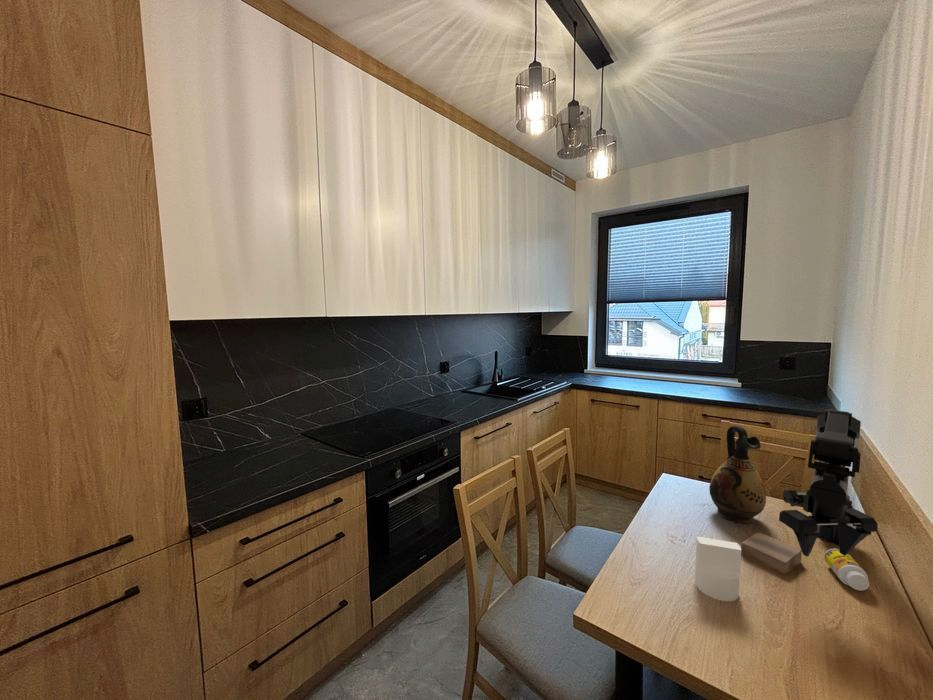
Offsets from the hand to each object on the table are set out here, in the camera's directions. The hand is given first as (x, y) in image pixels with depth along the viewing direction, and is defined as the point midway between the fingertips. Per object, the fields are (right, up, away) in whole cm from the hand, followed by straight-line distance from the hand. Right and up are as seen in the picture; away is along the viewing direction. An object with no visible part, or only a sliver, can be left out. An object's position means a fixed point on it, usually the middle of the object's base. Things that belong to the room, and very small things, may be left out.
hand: (824, 554), depth 89 cm
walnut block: (-1, -10, +15) cm, 18 cm away
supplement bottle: (+14, -7, +11) cm, 19 cm away
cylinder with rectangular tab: (-23, -11, +4) cm, 26 cm away
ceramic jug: (+6, -7, +38) cm, 39 cm away
